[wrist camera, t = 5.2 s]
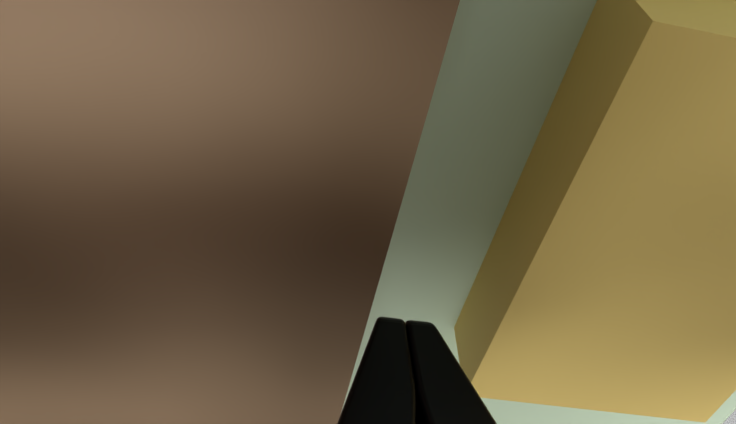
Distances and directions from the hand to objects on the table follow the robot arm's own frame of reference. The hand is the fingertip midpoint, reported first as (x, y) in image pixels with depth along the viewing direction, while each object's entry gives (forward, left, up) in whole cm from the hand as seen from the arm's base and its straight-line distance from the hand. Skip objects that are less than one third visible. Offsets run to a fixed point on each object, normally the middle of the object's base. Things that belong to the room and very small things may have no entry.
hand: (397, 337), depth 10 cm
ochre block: (0, -6, -2) cm, 6 cm away
